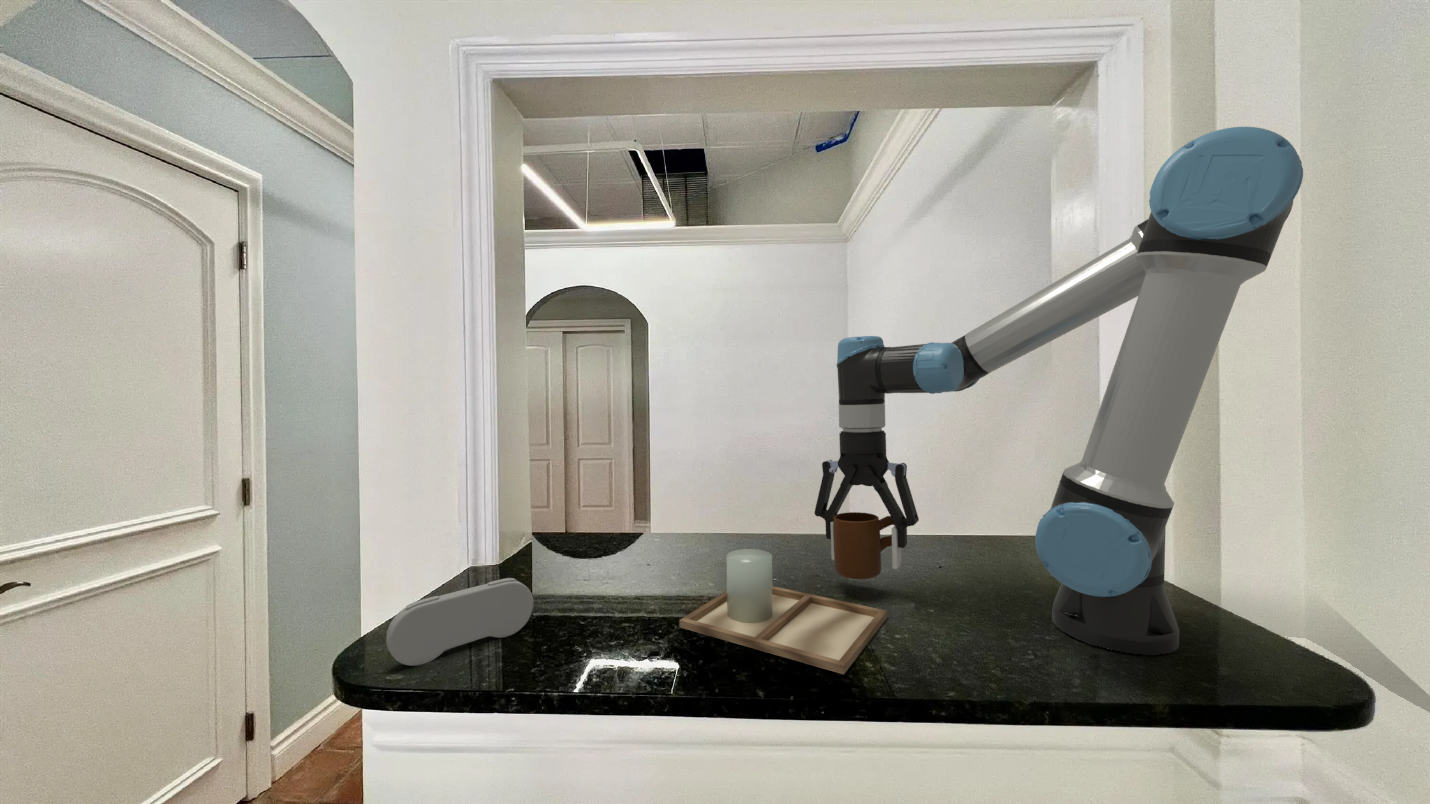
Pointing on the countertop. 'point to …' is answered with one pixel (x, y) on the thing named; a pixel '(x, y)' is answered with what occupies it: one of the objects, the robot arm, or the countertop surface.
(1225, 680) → the countertop surface
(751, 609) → the pillar candle
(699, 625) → the organizer
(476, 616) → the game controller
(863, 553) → the mug
